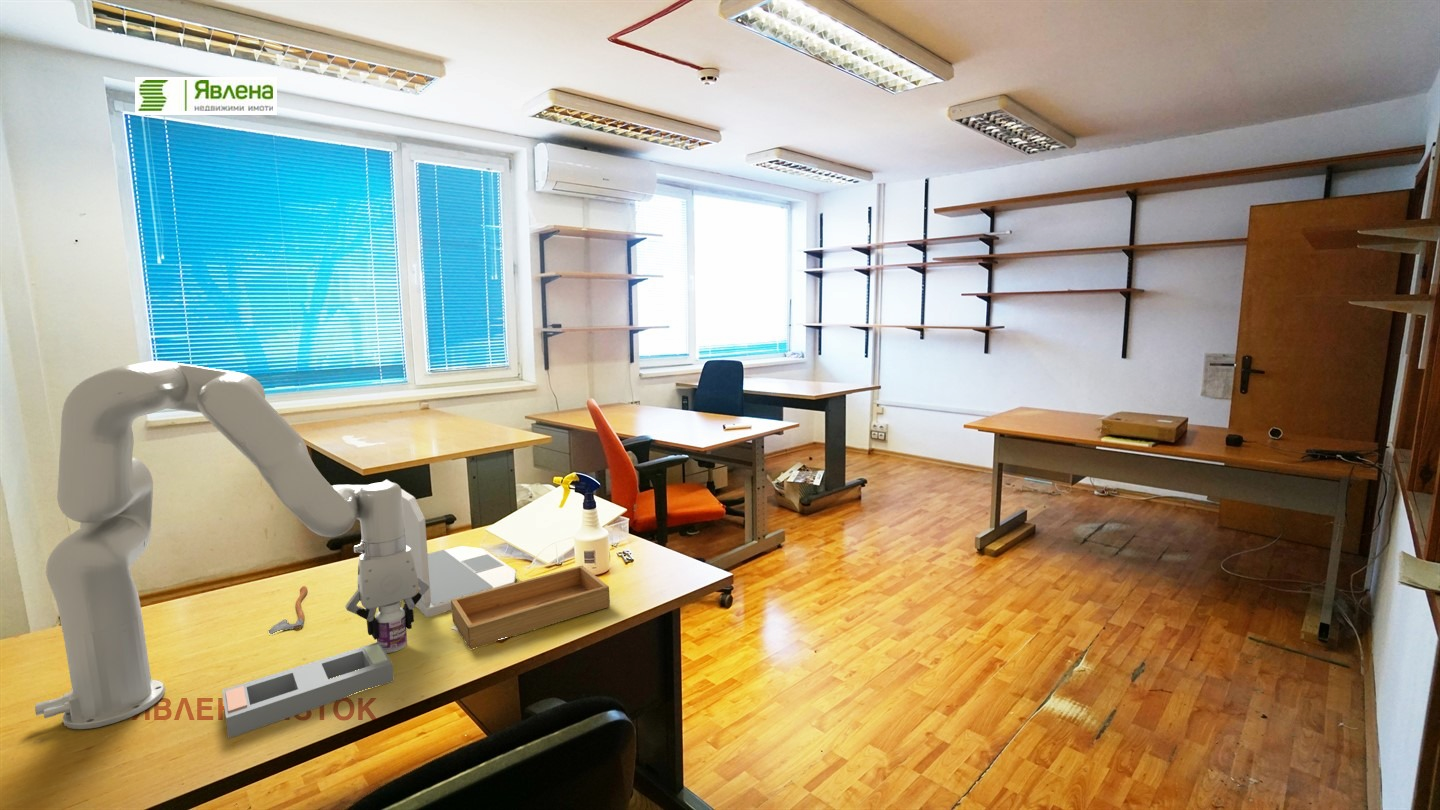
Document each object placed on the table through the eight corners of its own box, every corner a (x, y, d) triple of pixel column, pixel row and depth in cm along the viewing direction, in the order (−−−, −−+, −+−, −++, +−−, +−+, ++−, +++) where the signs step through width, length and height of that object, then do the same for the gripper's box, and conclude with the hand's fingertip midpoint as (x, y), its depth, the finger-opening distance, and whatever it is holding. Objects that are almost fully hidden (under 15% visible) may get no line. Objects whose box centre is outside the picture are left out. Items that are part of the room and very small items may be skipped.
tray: (470, 652, 126) (468, 625, 125) (452, 622, 138) (450, 597, 137) (610, 610, 143) (609, 586, 143) (583, 586, 156) (582, 565, 155)
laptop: (528, 587, 155) (523, 483, 152) (425, 619, 139) (417, 504, 135) (474, 550, 180) (468, 460, 176) (382, 574, 163) (373, 475, 159)
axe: (276, 596, 150) (275, 589, 150) (308, 591, 154) (308, 584, 153) (266, 638, 131) (265, 630, 131) (303, 631, 135) (303, 624, 134)
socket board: (228, 738, 100) (225, 716, 99) (224, 708, 107) (221, 688, 107) (393, 680, 115) (392, 661, 115) (380, 658, 123) (378, 640, 122)
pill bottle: (395, 655, 124) (391, 609, 122) (371, 652, 125) (367, 606, 123) (413, 641, 129) (410, 597, 127) (390, 639, 130) (387, 594, 129)
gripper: (338, 562, 115) (347, 654, 118) (436, 540, 126) (442, 624, 129) (330, 550, 121) (339, 638, 124) (424, 530, 132) (430, 611, 135)
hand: (391, 630), depth 126 cm, fingers closed on pill bottle, 5 cm apart
